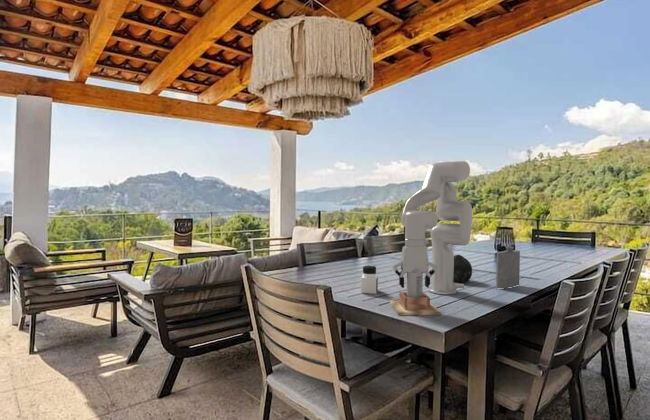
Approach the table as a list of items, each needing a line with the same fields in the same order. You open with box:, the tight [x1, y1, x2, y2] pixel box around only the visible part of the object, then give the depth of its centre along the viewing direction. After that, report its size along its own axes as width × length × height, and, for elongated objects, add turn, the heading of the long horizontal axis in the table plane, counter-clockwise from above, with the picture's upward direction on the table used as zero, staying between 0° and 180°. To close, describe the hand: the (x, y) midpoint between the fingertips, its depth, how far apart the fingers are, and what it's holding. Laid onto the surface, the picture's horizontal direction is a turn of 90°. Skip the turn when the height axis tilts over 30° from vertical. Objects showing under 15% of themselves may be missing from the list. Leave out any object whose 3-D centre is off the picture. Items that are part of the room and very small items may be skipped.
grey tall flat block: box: [495, 245, 521, 288], centre depth 184 cm, size 16×4×20 cm, turn 121°
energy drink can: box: [406, 269, 424, 297], centre depth 148 cm, size 6×6×15 cm
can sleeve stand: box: [389, 291, 442, 316], centre depth 148 cm, size 16×16×6 cm
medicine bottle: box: [360, 264, 379, 295], centre depth 175 cm, size 7×7×12 cm
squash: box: [453, 254, 473, 284], centre depth 198 cm, size 14×15×15 cm
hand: (414, 286), depth 148 cm, fingers open, 9 cm apart
